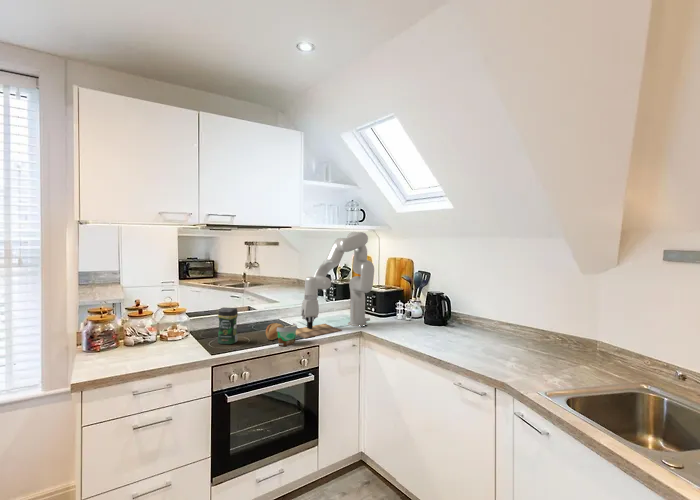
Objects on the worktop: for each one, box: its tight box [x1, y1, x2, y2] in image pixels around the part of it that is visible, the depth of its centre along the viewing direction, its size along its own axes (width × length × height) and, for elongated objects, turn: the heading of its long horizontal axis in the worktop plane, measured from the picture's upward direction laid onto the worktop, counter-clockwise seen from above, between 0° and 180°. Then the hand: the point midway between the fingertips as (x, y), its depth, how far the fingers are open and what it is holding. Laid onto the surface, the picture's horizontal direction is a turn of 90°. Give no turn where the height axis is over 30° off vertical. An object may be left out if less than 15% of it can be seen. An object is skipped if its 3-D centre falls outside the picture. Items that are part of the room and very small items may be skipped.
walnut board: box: [297, 326, 343, 339], centre depth 208 cm, size 26×8×2 cm, turn 131°
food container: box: [277, 322, 298, 348], centre depth 186 cm, size 12×6×10 cm, turn 143°
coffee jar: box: [217, 307, 239, 345], centre depth 189 cm, size 10×8×19 cm
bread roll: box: [265, 322, 285, 341], centre depth 199 cm, size 10×15×8 cm, turn 171°
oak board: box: [295, 323, 333, 336], centre depth 214 cm, size 26×8×2 cm, turn 131°
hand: (309, 328), depth 214 cm, fingers closed
